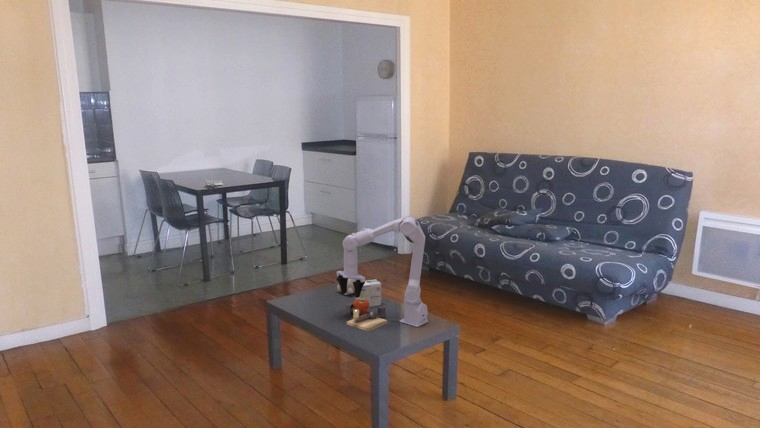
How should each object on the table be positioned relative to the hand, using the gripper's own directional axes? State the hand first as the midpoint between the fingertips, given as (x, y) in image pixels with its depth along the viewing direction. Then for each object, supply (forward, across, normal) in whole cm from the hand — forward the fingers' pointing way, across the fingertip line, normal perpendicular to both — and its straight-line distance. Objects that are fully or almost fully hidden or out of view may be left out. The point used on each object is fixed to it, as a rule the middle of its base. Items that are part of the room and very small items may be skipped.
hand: (350, 295), depth 240 cm
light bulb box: (+11, -6, +18) cm, 22 cm away
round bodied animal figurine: (+11, -24, +24) cm, 36 cm away
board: (+10, +9, 0) cm, 14 cm away
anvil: (+10, -5, +5) cm, 12 cm away
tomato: (+10, -1, +7) cm, 13 cm away
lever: (+9, +8, +3) cm, 12 cm away
